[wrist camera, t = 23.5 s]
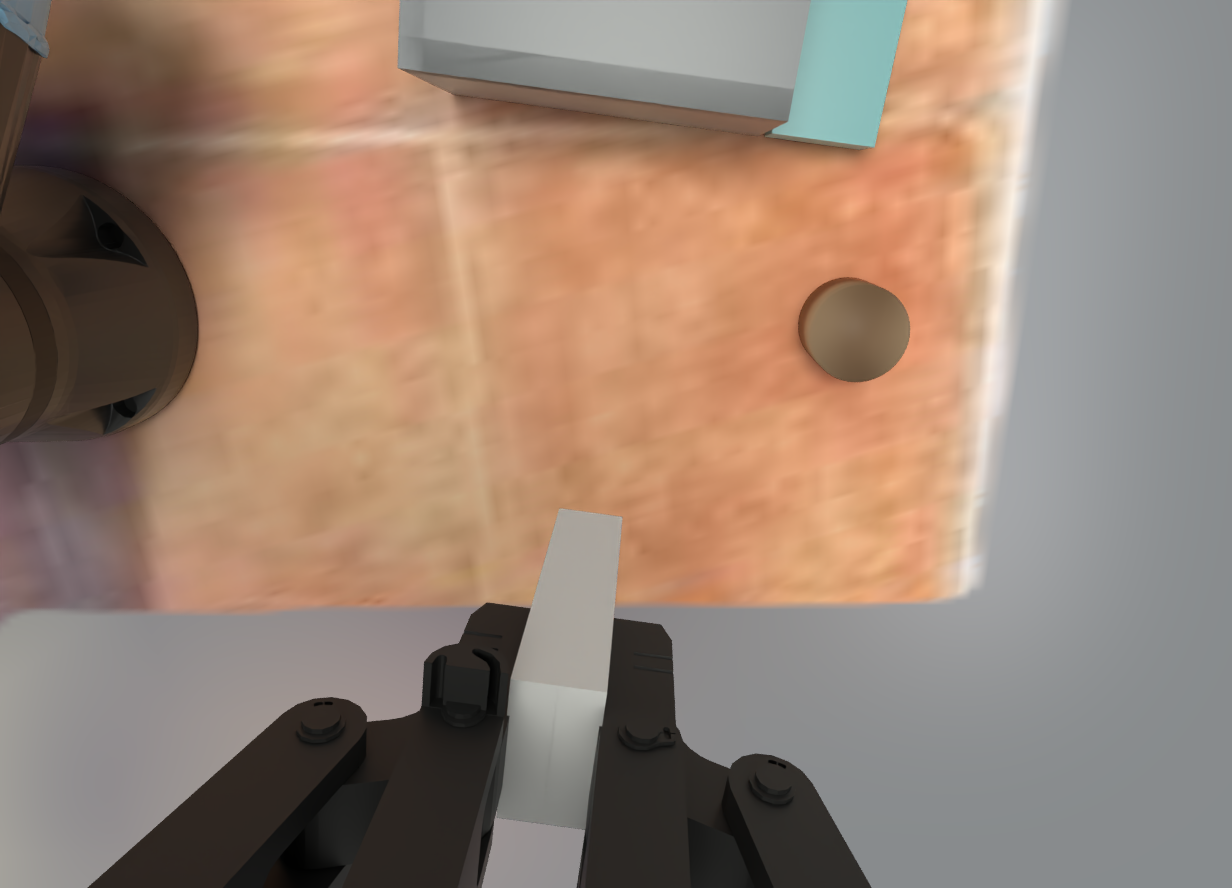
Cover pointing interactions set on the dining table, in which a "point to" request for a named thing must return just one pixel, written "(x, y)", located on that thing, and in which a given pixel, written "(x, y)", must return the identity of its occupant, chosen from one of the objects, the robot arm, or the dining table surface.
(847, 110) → the tray
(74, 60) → the dining table surface
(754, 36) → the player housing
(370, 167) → the dining table surface
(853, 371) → the disc stand
